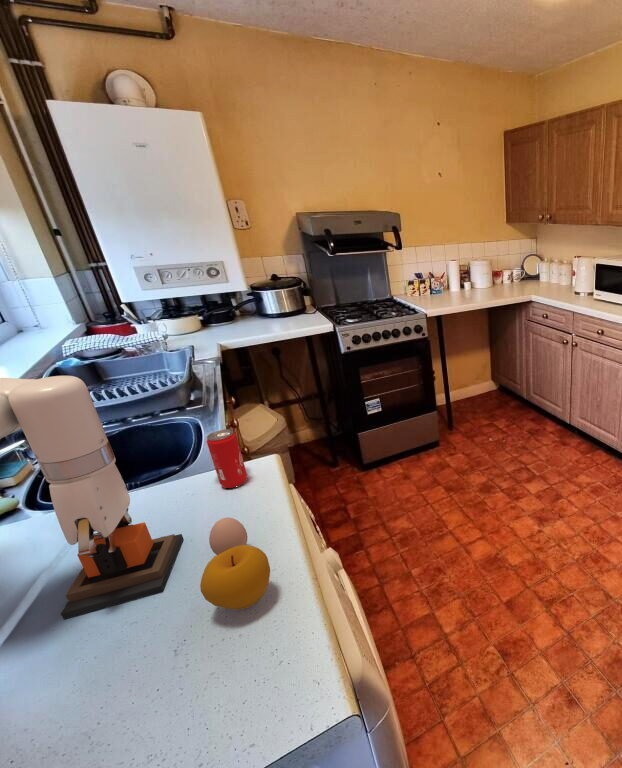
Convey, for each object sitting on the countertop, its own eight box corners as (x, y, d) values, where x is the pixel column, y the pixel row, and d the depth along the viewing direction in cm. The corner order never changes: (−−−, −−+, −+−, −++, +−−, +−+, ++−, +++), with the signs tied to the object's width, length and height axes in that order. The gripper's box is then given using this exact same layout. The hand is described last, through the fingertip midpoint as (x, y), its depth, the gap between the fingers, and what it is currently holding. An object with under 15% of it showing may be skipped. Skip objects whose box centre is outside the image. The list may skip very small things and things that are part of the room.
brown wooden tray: (63, 619, 63) (55, 605, 62) (100, 559, 74) (94, 547, 73) (163, 591, 68) (157, 578, 67) (183, 538, 79) (179, 526, 78)
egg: (253, 557, 74) (242, 522, 71) (216, 571, 71) (203, 535, 69) (249, 539, 78) (239, 505, 76) (215, 552, 75) (203, 517, 73)
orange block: (88, 578, 66) (76, 554, 65) (101, 556, 71) (91, 534, 69) (144, 563, 69) (134, 541, 67) (153, 543, 73) (145, 521, 72)
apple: (202, 633, 61) (183, 585, 58) (222, 586, 68) (206, 541, 65) (270, 617, 63) (255, 570, 60) (281, 574, 71) (269, 530, 67)
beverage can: (224, 478, 97) (209, 430, 92) (250, 474, 98) (237, 426, 94) (217, 492, 92) (201, 442, 88) (245, 487, 94) (230, 437, 89)
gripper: (72, 440, 69) (112, 532, 76) (9, 500, 54) (66, 608, 61) (131, 430, 72) (164, 520, 78) (86, 485, 57) (132, 590, 64)
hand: (121, 558), depth 70 cm, fingers closed on orange block, 4 cm apart
